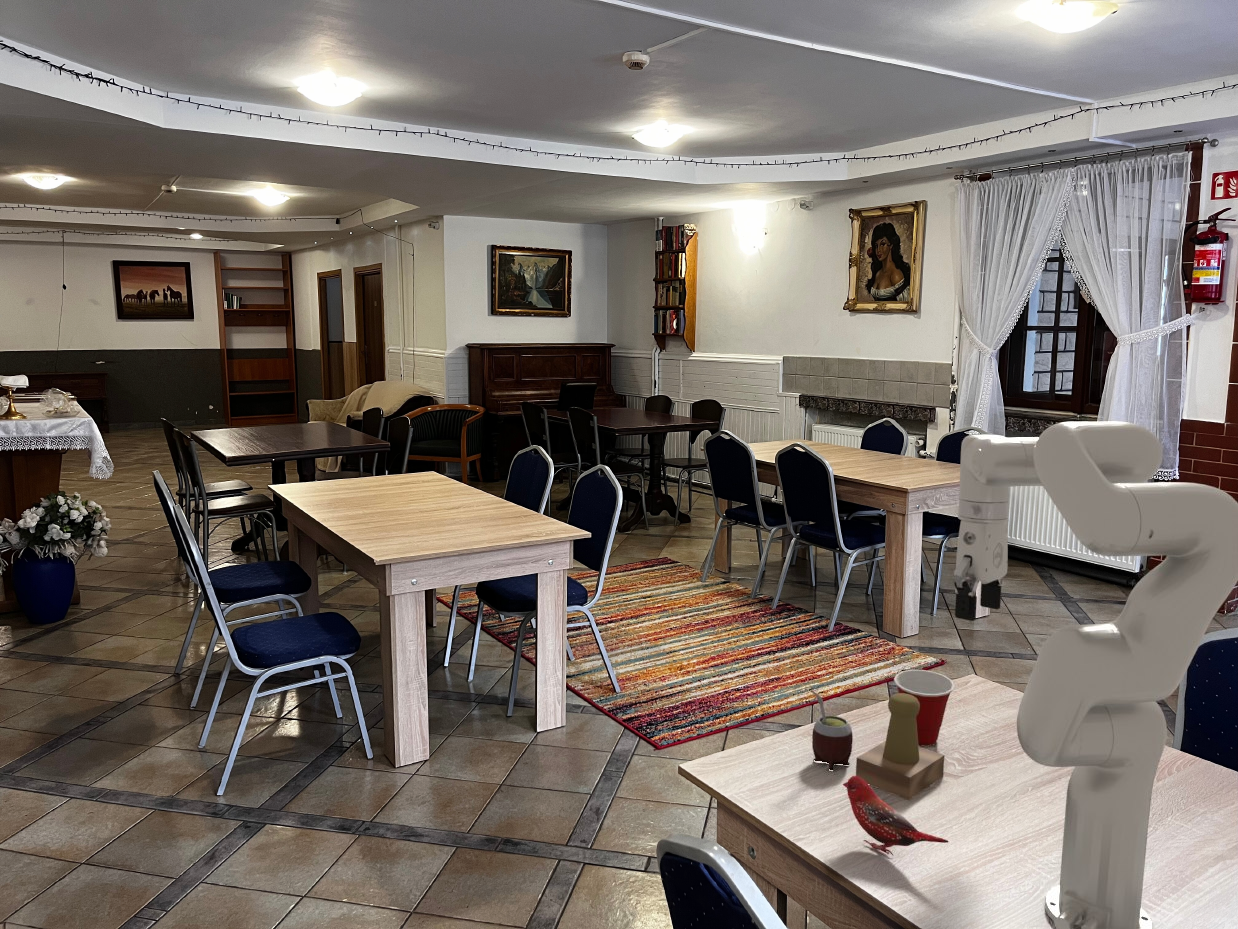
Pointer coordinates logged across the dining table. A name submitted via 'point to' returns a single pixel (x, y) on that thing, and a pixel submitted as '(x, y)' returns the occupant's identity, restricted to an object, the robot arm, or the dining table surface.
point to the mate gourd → (831, 738)
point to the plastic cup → (926, 700)
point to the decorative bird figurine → (882, 818)
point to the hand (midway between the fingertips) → (977, 613)
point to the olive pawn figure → (902, 730)
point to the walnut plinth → (900, 772)
